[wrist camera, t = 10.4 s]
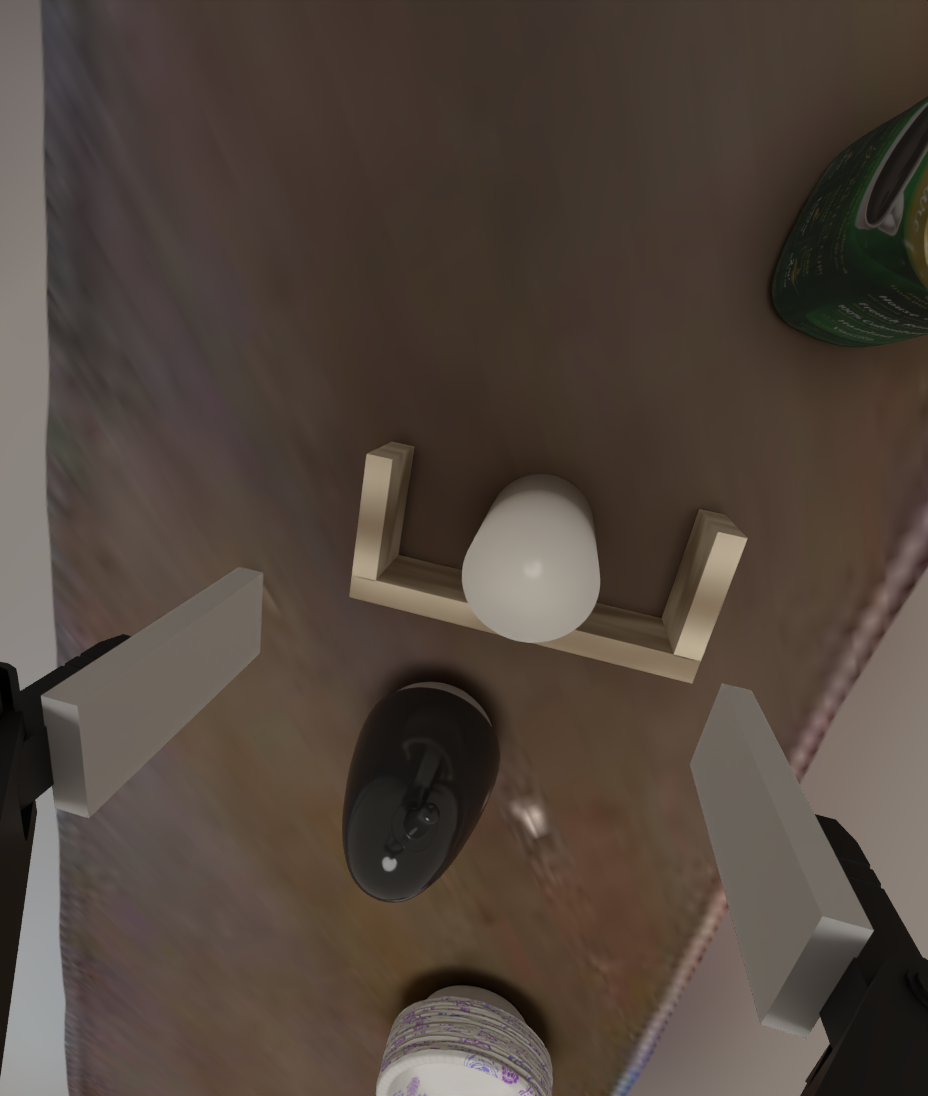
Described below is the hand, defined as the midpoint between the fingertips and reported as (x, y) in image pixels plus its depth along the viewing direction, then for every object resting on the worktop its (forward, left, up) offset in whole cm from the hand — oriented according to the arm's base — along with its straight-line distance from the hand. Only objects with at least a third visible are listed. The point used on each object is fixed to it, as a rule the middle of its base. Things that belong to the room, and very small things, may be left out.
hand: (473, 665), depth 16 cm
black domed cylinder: (+19, -3, -23) cm, 30 cm away
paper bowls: (+52, +6, -23) cm, 58 cm away
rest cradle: (+4, +1, -23) cm, 23 cm away
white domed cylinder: (+2, +1, -23) cm, 23 cm away
